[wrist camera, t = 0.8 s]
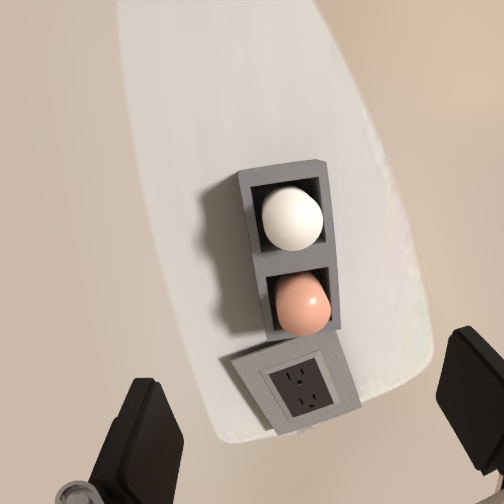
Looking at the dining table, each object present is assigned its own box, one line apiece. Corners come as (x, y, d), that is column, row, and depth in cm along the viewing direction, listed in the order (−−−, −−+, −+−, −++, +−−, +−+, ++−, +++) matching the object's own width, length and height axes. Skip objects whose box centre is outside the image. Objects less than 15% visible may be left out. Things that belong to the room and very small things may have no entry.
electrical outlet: (357, 395, 35) (362, 408, 33) (277, 423, 36) (278, 437, 34) (328, 312, 31) (333, 325, 29) (231, 349, 32) (230, 363, 30)
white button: (257, 189, 25) (258, 197, 21) (308, 181, 24) (319, 188, 21) (265, 238, 26) (268, 255, 22) (314, 230, 26) (325, 246, 22)
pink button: (271, 273, 27) (274, 294, 23) (318, 265, 27) (329, 285, 23) (277, 314, 28) (281, 339, 24) (322, 306, 28) (332, 331, 24)
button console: (239, 170, 26) (237, 175, 23) (315, 159, 26) (326, 161, 22) (265, 318, 31) (267, 341, 27) (330, 307, 30) (340, 329, 27)
